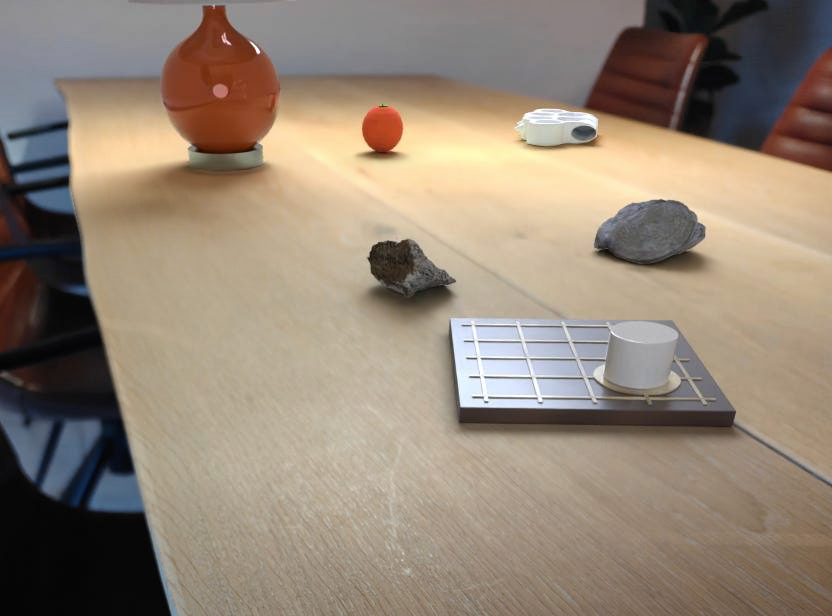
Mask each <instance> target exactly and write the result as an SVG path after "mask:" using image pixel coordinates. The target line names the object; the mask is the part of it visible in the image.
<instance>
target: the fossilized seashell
mask: <svg viewBox="0 0 832 616" xmlns="http://www.w3.org/2000/svg"><path fill="white" fill-rule="evenodd" d="M706 230H707V227H706V226H705V225H704V224H703V223H701V222H699V221H698V215H697V213H695V212H694V211H693V210H691V209H690V208H689V207H688V205H686V204H685V203H684V202H681V201H679V200H675V199H667V200H666V199H663V198H659V199H650V200H647V201H640V202H631V203H629V204H627V205H625V206H623V207H622V208H620V209H619V210H618V211H617V213H616V214H615V215H614V216H612V217H610V218H608V219H607V220H605V221H604V222H603V223H602V224H601V225H600V226H599V227H598V228H597V231H596V233H595V238H594V242H593V247H594V248H596V249H597V250H607V251H609V252H610V253H611V254H612V255H613V256H615V258H619V259H622V260H625V261H628V262H631V263H634V264H641V265H644V264H645V265H647V264H653V263H658V262H661V261H663V260H666V259H667V258H670V257H671V256H676V255H680V254H683V253H685V252H688V251H689V250H691V249H693V248H695V247H696V246H697V245H699V244H700V243H701V242H702V241H704V240H705V239H706Z"/></svg>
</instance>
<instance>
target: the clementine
mask: <svg viewBox="0 0 832 616" xmlns="http://www.w3.org/2000/svg"><path fill="white" fill-rule="evenodd" d="M403 133H404V123H403V120H402V116H401V115H400V113H399V112H398V111H397V110H396V109H395V108H394V107H393V106H391V105H388V104H384V103H382V104H378V105H375V106H373V107H372V108H371V109H370V110H368V111H367V112H366V114H365V115H364V118H363V120H362V123H361V134H362V137H363V140H364V142H365V144H366V145H367V146H368V147H369V148H370V149H371V150H373V151H375V152H378V153H387V152H389V151H392V150H394V148H396V147H397V146H398V144H399V143H400V141H401V139H402V137H403Z"/></svg>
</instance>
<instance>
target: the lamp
mask: <svg viewBox="0 0 832 616" xmlns="http://www.w3.org/2000/svg"><path fill="white" fill-rule="evenodd" d="M295 1H296V0H128V1H127V2H128V3H130V4H133V5H134V4H135V5H149V6H150V5H151V6H201V9H202V17H201V18H202V19H201V22H200V23H199V25H198V27H197V28H196V29H195V30H194V31H192V33H190V34H188V35H187V36H186V37H184V38H183V39H181V40H180V41H179V42H178V43H177V44H176V45H175V46H174V47H173V48H172V49H171V51H170V52H169V53H168V54H167V57H166V58H165V60H164V63H163V66H162V68H161V72H160V78H159V95H160V101H161V104H162V108H163V110H164V113H165V115H166V117H167V120H168V121H169V123H170V125H171V127H172V128H173V129H174V130H175V132H176V133H177V134H178V135H179V136H180V137H181V138H182V139H183V140H184V141H186V142H187V143H188V144H189V146H188V148H187V153H188V162H189V163H188V164H189V166H190V167H191V168H193V169H198V170H203V171H239V170H247V169H253V168H256V167H257V168H258V167H259V166H262V165H263V164H264V150H263V149H264V147H263V145H262V144H261V142H262V140H264V139H265V137H266V136H268V134H269V133H270V131H271V130H272V129H273V127H274V125H275V122H276V121H277V118H278V114H279V110H280V107H281V102H282V101H281V98H282V92H281V82H280V77H279V74H278V71H277V67H276V66H275V64H274V62H273V60H272V58H271V57H270V55H269V54H268V53H267V51H266V50H265V49H264V48H263V47H262V46H260V45H259V44H258V43H257V42H256V41H255V40H253V39H252V38H250V37H248V36H247V35H245V34H244V33H242V32H240V31H239V30H238V29H236V28H235V27H234V26H233V25H232V23H231V22H230V20H229V19H228V15H227V7H226V6H236V5H237V6H238V5H241V6H242V5H259V4H260V5H262V4H263V5H265V4H278V3H288V2H295Z"/></svg>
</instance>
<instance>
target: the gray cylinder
mask: <svg viewBox="0 0 832 616" xmlns="http://www.w3.org/2000/svg"><path fill="white" fill-rule="evenodd" d="M677 341H678V333H677V331H676V330H674V329H673V328H671V327H668V326H666V325H662V324H658V323H653V322H645V321H629V322H622V323H618V324H616V325H614V326H612V327H611V329H610V334H609V340H608V346H607V352H606V358H605V364H604V370H603V376H604V378H605V379H606V380H608V381H609V382H611V383H613V384H616V385H619V386H623V387H628V388H635V389H651V388H657V387H661V386H664V385H665V384H667V383H668V381H669V378H670V373H671V368H672V364H673V359H674V355H675V350H676V345H677Z"/></svg>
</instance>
